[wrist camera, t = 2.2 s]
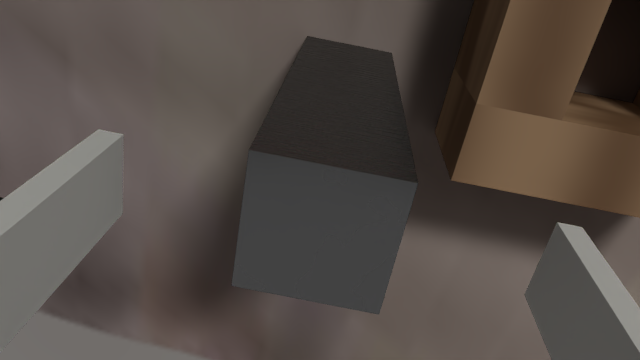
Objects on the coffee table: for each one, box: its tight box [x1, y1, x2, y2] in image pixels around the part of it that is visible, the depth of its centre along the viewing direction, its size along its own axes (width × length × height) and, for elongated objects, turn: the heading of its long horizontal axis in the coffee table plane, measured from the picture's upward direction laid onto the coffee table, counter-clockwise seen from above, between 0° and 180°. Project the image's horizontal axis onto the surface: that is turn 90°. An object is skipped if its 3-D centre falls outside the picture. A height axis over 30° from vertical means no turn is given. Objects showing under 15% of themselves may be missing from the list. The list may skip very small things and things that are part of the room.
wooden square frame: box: [435, 0, 640, 218], centre depth 23 cm, size 13×13×6 cm
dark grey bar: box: [232, 36, 418, 314], centre depth 21 cm, size 4×4×15 cm
